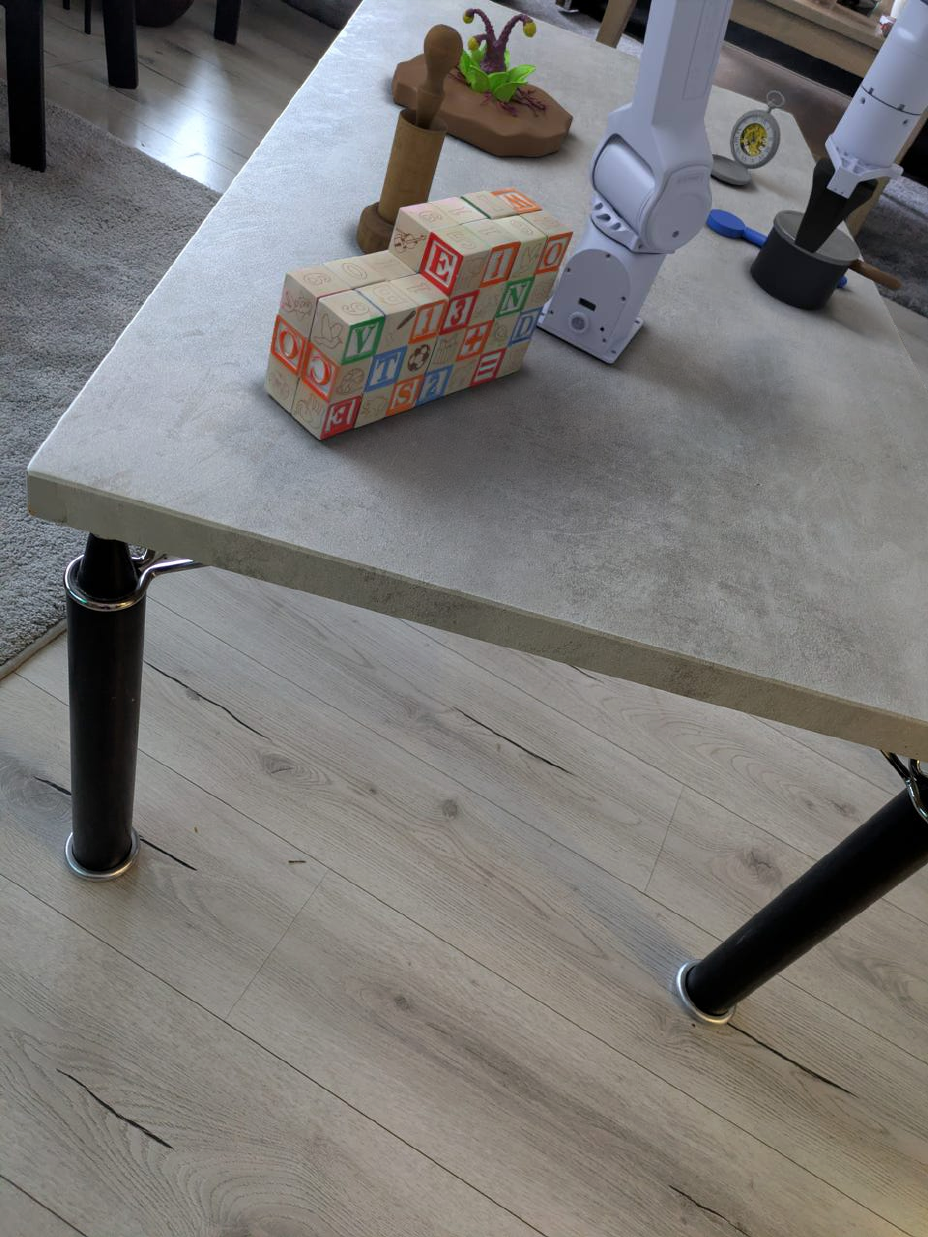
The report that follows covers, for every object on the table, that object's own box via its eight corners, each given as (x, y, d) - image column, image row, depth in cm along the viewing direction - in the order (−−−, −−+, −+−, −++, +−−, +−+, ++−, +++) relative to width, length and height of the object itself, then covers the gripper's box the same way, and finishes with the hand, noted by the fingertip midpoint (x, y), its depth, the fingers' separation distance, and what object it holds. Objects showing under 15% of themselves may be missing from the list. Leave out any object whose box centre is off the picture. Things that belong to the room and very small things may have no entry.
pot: (867, 346, 102) (902, 295, 98) (739, 280, 104) (767, 227, 100) (877, 312, 109) (910, 263, 105) (757, 251, 111) (785, 200, 107)
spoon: (846, 281, 113) (852, 272, 112) (840, 295, 109) (846, 285, 109) (711, 212, 114) (715, 203, 113) (701, 224, 111) (706, 214, 110)
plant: (514, 174, 105) (551, 63, 97) (364, 90, 108) (388, -24, 100) (587, 136, 119) (625, 37, 111) (453, 63, 122) (480, -39, 114)
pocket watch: (697, 173, 122) (737, 90, 115) (701, 150, 128) (739, 70, 121) (758, 198, 122) (801, 117, 115) (759, 175, 128) (800, 96, 121)
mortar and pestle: (346, 223, 87) (395, 0, 74) (413, 230, 90) (471, 17, 77) (367, 265, 83) (423, 38, 71) (437, 271, 86) (502, 54, 74)
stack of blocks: (319, 445, 66) (359, 280, 57) (260, 390, 68) (290, 223, 59) (520, 370, 79) (577, 228, 71) (466, 327, 81) (515, 183, 73)
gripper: (928, 139, 77) (831, 292, 87) (941, 102, 88) (853, 242, 97) (847, 99, 78) (760, 255, 88) (869, 67, 88) (789, 209, 98)
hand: (804, 246), depth 92 cm, fingers closed
